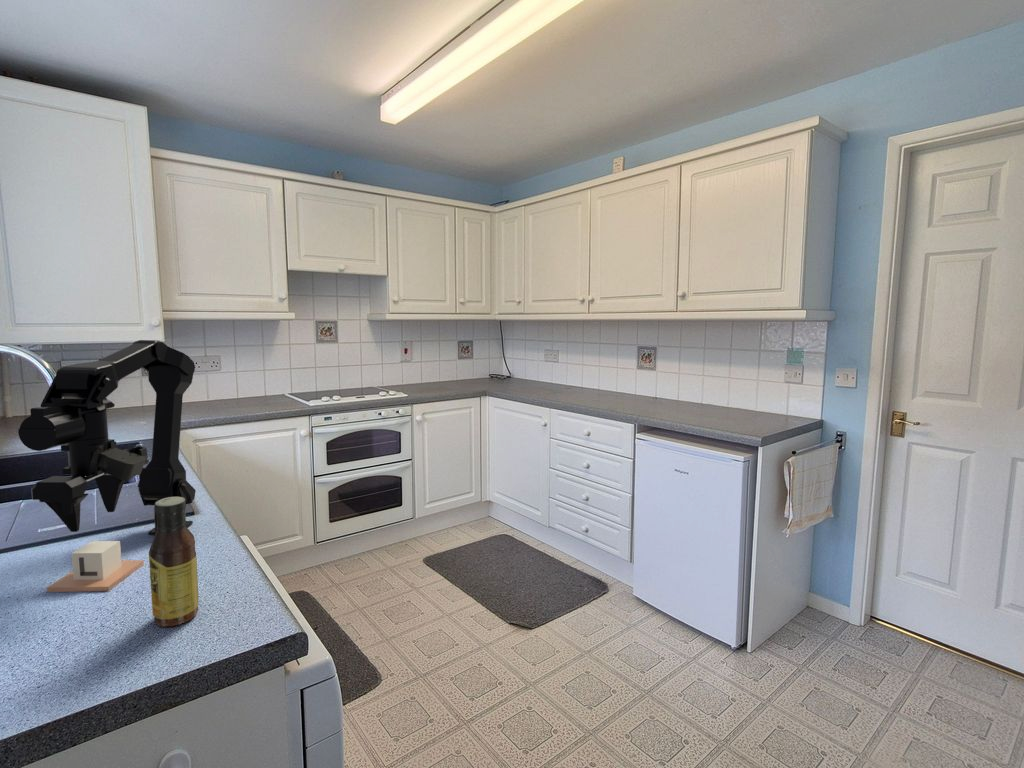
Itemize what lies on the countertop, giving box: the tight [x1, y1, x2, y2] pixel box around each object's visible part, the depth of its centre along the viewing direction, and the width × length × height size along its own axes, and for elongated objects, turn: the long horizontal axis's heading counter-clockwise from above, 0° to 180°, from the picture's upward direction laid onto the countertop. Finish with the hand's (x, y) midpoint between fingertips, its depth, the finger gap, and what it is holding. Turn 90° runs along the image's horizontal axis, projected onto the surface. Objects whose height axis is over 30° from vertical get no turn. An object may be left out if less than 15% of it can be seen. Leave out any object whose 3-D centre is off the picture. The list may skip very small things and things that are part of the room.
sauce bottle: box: [148, 497, 199, 628], centre depth 82 cm, size 6×6×20 cm
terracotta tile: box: [46, 559, 144, 593], centre depth 96 cm, size 10×10×1 cm
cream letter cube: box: [71, 540, 122, 580], centre depth 95 cm, size 5×5×5 cm
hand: (93, 521), depth 94 cm, fingers open, 9 cm apart
